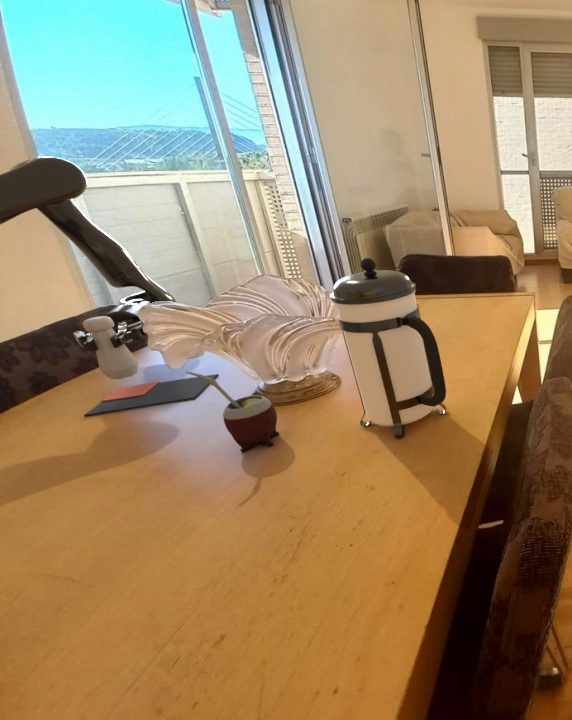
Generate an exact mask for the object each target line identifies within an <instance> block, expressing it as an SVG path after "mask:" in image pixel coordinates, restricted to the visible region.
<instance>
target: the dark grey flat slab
mask: <svg viewBox="0 0 572 720" xmlns="http://www.w3.org/2000/svg"><path fill="white" fill-rule="evenodd" d="M218 375H219V373H215V374H208V375H206V376H207V377H209V378H211V379H215V378H216V377H217V376H218ZM218 377H219V376H218ZM218 377H217V378H218ZM217 378H216V379H217ZM216 379H215V380H216ZM209 384H210V383H209V381H207V380H205V379H203V378H200V377H197V376H194V377H187V378H181V379H173V380H168V381H161V382H160V381H154V382H147V383H140V384H135V385H133V384H132V385H128V386H121V387H119V388H117V389H116V390H115V391H112V392H111V393H110V394H108V395H107V396H106V397H105V398H103V399H102V400H101V402H100V403H98V404H97V405H95V406H94V407H92V409H90V410H88V411H87V412H86V413H84V414H83V416H84V417H90V416H91V417H92V416H97V415H104V414H109V413H115V412H121V411H122V412H123V411H128V410H134V409H140V408H141V409H142V408H147V407H155V406H160V405H166V404H167V405H168V404H172V403H179V402H185V401H191V400H196V399H197V398H198V397H199V396H200V395H201V394H202V393H203V392H204V391H205V390H206V389H207V388H208V387H209V386H210V385H211V384H210V385H209ZM208 385H209V386H208ZM207 386H208V387H207ZM205 388H206V389H205Z"/></svg>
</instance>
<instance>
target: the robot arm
mask: <svg viewBox="0 0 572 720" xmlns="http://www.w3.org/2000/svg"><path fill="white" fill-rule="evenodd" d="M87 186H88V179H87V176H86V175H85V173H84V171H83V170H82V169H81V168H80V167H79V166H78V165H76V164H75V163H73V162H71V161H69V160H68V159H67V160H66V159H63V158H60V157H56V156H36V157H33V158H31V159H27V160H23V161H20V162H18V163H16V164H14V165H12V166H11V168H10V169H9V170H8V171H5V172H3V173H1V174H0V226H1V225H3V224H6V223H7V222H9V221H11V220H13V219H15V218H17V217H19V216H20V215H23V214H25V213H27V212H29V211H32V210H35V209H36V210H38V211H39V212H40V213H41V214H42V215H43V216H44V217H45V218H47V220H48V221H50V223H52V224H53V225H54V226H55V227H56V228H57V229H58V230H59V231H60V232H61V233H62V234H63V235H65V236H66V237H67V239H68V240H70V241H71V242H72V243H73V244H74V245H75V247H76V248H77V249H78V250H79V251H80V252H81V253H82V254H83V255H84V256H85V257H86V258H87V260H88V261H89V262H90V264H92V266H93V267H94V268H95V269H96V270H97V272H98V273H99V274H100V275H101V276H102V278H103V279H104V280H105V281H106V282H107V283H108V284H109V286H111V287H112V288H115V289H123V288H129V287H134V288H137V289H140V290H142V291H139V292H138V293H133V294H131V295H128V296H125V297H123V298H121V299H119V300H118V303H117V304H118V306H115V307H113V308H112V309H111V310H110V311H108V312H107V313H106V314H104V316H107V317H110V318H111V319H112V320H113V322H114V326H113V327H112V329H113V330H114V331H115V333H116V334H115V335H113V336H112V337H111V338H110V340H111V342H112V344H113V346H114V348H118V347H121V346H122V345H123V344H125V345H126V344H131V343H135V342H138V341H141V340H143V339H145V338H147V337H148V336H147V335H146V334H145V333H144V332H143V329H142V323H141V321H140V319H139V317H138V315H137V311H138V310H139V309H140V308H141V307H142V306H144V305H147V304H149V303H152V302H155V301H173V302H176V303H177V301H176V298H175V297H174V296H173V294H172V293H170V292H169V291H167V290H166V289H165V288H164V287H162V286H161V285H159V284H158V283H157V282H156V281H154V279H152V278H151V277H149V276H148V275H147V273H145V272H144V271H143V270H142V269H141V267H140V266H139V265H138V264H137V261H135V259H133V257H132V256H131V255H130V253H129V252H128V251H127V250H126V249H125V248H124V247H123V246H122V245H121V244H120V243H119V242H118V241H117V240H116V239H114V238H113V237H111V235H109V234H107V232H105V231H103V230H102V229H101V228H100V227H98V226H97V225H96V224H95V223H93V222H92V221H91V220H90V219H89V218H88V217H87V216H86V215H85V214H84V212H82V211H81V209H80V208H79V206H78V205H77V203H76V202H75V201H74V200H75V199H77V198H79V197H80V196H82V195H83V194H84V192H85V191H86V189H87V188H88V187H87ZM73 336H74V338H75V339H76V341H77V343H78V345H80V347H82V348H83V349H86V351H89V352H90V353H92V352H96V351H97V350H98V349H97V346H96V344H95V341H94V339H93V337H92V333H91V332H88V333H87V331H81V330H80V331H79V330H77V331H75V332H73Z"/></svg>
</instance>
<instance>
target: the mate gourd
mask: <svg viewBox="0 0 572 720" xmlns="http://www.w3.org/2000/svg"><path fill="white" fill-rule="evenodd" d="M185 373H186V374H188V375H191V376H194V377H200V378H203V379H205V380H207V381H209V383H210V385H211V386H212V387H214V388H216V390H217V391H218V392H219V393H220V394H221V395H223V396H224V397H225V399H226V400H228V401H229V403H227V405H226V406H225V408H224V410H223V412H222V417H223V423H224V425H225V428H226V430H227V431H228V433H229V434H230V435H231V437H232V439H233V440H234V442H236V444H237V445H238V446H239V447H240V449H239V451H240V452H241V453H242V454H243V453H246V452H248V451H250V450H253V449H254V448H256V447H258V446H263V447H267V448H272V447H274V446H275V443H274V442H273V441H272V440H271V439H273V438H275V437H278V436H279V435H280V431H278V430H277V423H278V414H277V410H276V408H275V407H274V405H273V404H272V402H271V401H270V400H269V399H268V398H267V397H265V396H262V395H258V394H257V395H256V394H255V395H249V396H248V395H247V396H243V397H240V398H237V399H234V398H233V397H231V396H230V395H229V393H227V392H226V391H225V390H224V389H223V388H222V387H221V386H220V385H219V383H218V382H217V381H216V379H215V380H214V379H211V378H209V377H207V375H204V374H201V373H197V372H193V371H189V370H186V371H185Z"/></svg>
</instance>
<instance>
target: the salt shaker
mask: <svg viewBox="0 0 572 720" xmlns="http://www.w3.org/2000/svg"><path fill="white" fill-rule="evenodd" d="M113 326H114V322H113V320H112V319H111V318H110V317H107V316H105V315H101V316H94V317H89V318H87V319H84V320H83V322H82V327H83V329H84V330H85V332H88V333H92V337H93V339H94V341H95V344H96V346H97V349H98V350H97V351H95V354H96V358H97V362H98V367H99V370H100V372H101V373H102V374H103V375H104V376H106V377H107V378H109V379H110V380H123V379H126V378H127V379H128V378H131V377H133V376H134V375H136V374H138V373H139V362H138V361H139V360H138V359H137V358H136V357H135V356H134V354H133V353H132V352H131V350H129V348H128V347H127V346H126V343H125V344H123V345H122V346H121V347H118V348H114V346H113V344H112V342H111V340H110V338H111V337H112V336H113V335H115V334H116V333H115V331H114V330H113V329H112V327H113Z"/></svg>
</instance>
